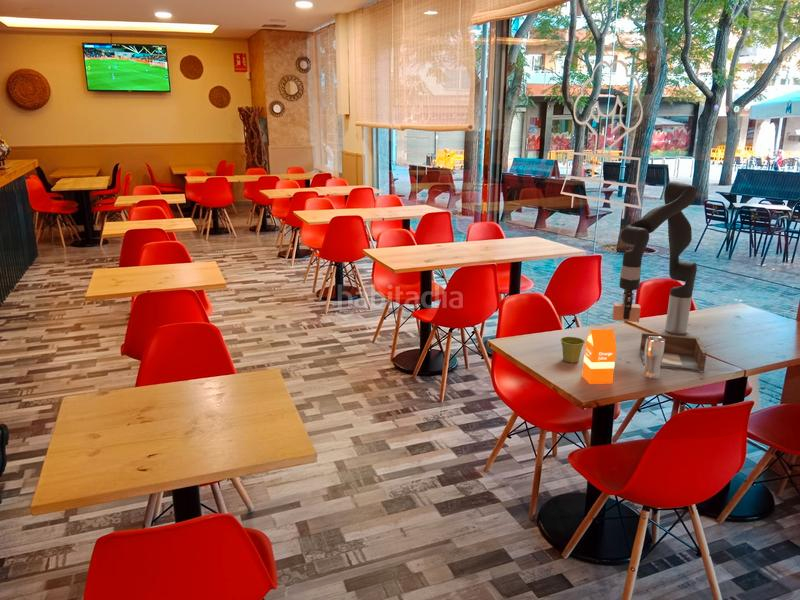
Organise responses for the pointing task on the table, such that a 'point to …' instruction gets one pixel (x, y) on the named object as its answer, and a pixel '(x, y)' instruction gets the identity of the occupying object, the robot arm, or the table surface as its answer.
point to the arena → (679, 352)
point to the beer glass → (653, 356)
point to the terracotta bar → (619, 312)
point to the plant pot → (571, 348)
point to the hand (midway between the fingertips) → (625, 316)
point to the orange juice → (599, 356)
